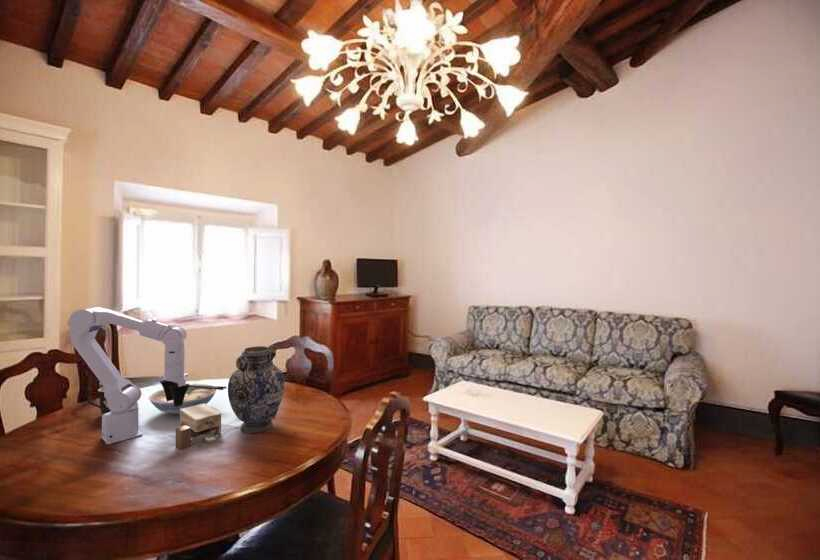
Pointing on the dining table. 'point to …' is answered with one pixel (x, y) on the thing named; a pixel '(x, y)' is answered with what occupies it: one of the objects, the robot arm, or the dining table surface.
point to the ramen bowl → (185, 398)
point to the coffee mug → (102, 399)
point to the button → (211, 437)
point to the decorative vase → (256, 388)
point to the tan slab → (200, 418)
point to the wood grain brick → (188, 437)
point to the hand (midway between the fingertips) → (174, 402)
